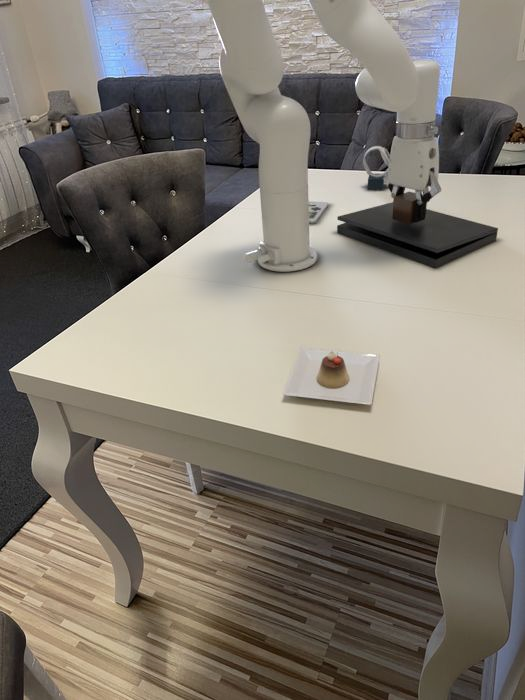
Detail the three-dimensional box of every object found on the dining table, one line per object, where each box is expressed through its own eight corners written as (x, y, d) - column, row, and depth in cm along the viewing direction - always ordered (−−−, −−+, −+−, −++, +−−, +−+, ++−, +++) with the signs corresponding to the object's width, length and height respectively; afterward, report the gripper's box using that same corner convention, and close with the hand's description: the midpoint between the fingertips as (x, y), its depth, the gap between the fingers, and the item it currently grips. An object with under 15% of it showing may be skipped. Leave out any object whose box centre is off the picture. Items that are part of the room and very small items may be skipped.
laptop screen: (436, 253, 103) (437, 249, 103) (337, 220, 123) (337, 216, 122) (497, 232, 113) (498, 228, 113) (396, 204, 133) (396, 200, 132)
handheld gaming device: (329, 201, 142) (315, 220, 130) (329, 204, 142) (315, 223, 130) (297, 200, 144) (280, 219, 133) (297, 203, 145) (280, 222, 133)
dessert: (371, 411, 70) (372, 381, 67) (282, 400, 73) (280, 372, 71) (379, 360, 80) (381, 333, 77) (300, 353, 83) (299, 326, 80)
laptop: (435, 268, 105) (436, 259, 104) (337, 232, 124) (337, 225, 123) (496, 240, 114) (497, 231, 113) (395, 211, 134) (396, 204, 133)
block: (409, 224, 115) (411, 201, 112) (392, 219, 118) (393, 196, 115) (425, 218, 117) (427, 195, 114) (407, 213, 120) (409, 191, 118)
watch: (390, 190, 149) (392, 149, 143) (361, 190, 151) (362, 149, 145) (391, 184, 153) (393, 144, 147) (363, 184, 155) (364, 144, 149)
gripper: (462, 131, 103) (452, 222, 113) (395, 122, 115) (390, 205, 125) (437, 138, 100) (428, 232, 110) (370, 129, 112) (368, 213, 122)
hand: (408, 217), depth 117 cm, fingers closed on block, 5 cm apart
